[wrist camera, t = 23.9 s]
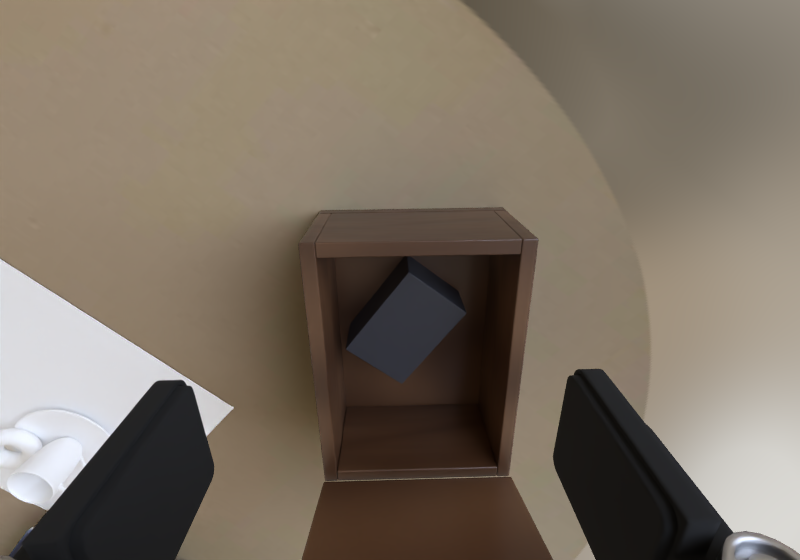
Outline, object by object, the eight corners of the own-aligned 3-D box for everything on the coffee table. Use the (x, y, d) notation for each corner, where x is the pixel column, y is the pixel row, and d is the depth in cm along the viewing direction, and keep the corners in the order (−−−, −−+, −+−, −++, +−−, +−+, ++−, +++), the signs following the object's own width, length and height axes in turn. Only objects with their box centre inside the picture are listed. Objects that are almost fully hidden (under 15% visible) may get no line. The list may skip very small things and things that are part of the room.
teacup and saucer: (-11, 443, 32) (-64, 487, 28) (33, 381, 30) (-17, 420, 26) (93, 495, 35) (57, 542, 31) (141, 442, 33) (109, 485, 29)
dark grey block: (349, 324, 28) (345, 349, 25) (406, 253, 26) (408, 272, 23) (400, 356, 29) (401, 384, 26) (458, 291, 27) (467, 313, 24)
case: (320, 210, 26) (297, 243, 19) (503, 207, 26) (539, 238, 20) (337, 407, 32) (324, 481, 26) (485, 404, 32) (509, 476, 26)
